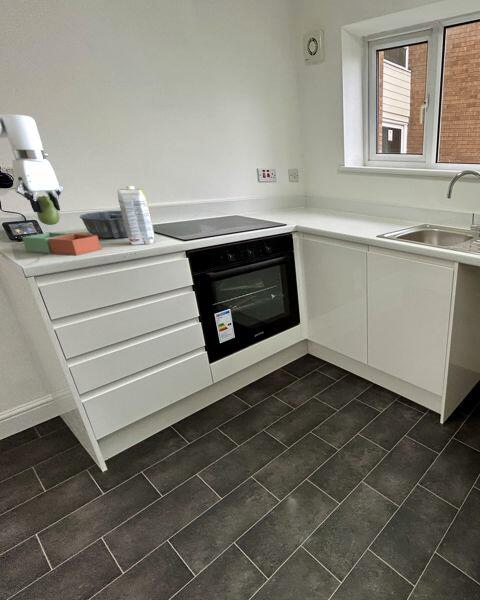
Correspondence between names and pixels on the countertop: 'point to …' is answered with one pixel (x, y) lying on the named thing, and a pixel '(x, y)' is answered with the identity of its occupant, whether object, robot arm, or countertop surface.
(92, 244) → the terracotta bin
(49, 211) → the pear
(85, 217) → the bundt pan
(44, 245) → the green bin
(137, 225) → the juice carton
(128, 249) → the countertop surface
